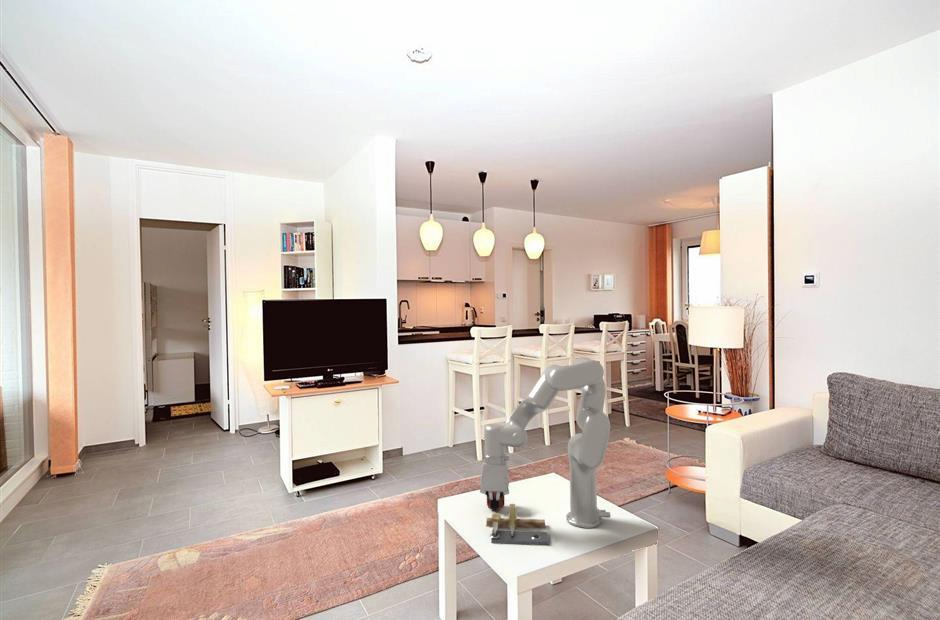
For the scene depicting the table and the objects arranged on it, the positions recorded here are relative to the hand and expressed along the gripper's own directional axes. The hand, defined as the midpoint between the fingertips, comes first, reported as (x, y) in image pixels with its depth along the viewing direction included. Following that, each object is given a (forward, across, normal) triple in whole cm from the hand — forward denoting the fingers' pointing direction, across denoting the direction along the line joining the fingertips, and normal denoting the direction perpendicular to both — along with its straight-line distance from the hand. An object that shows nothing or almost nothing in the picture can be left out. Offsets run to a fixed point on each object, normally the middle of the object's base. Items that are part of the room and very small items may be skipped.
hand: (494, 509), depth 166 cm
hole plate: (+6, -9, +9) cm, 14 cm away
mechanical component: (+6, 0, -14) cm, 15 cm away
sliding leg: (+5, -7, +4) cm, 9 cm away
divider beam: (+6, -8, +4) cm, 10 cm away
